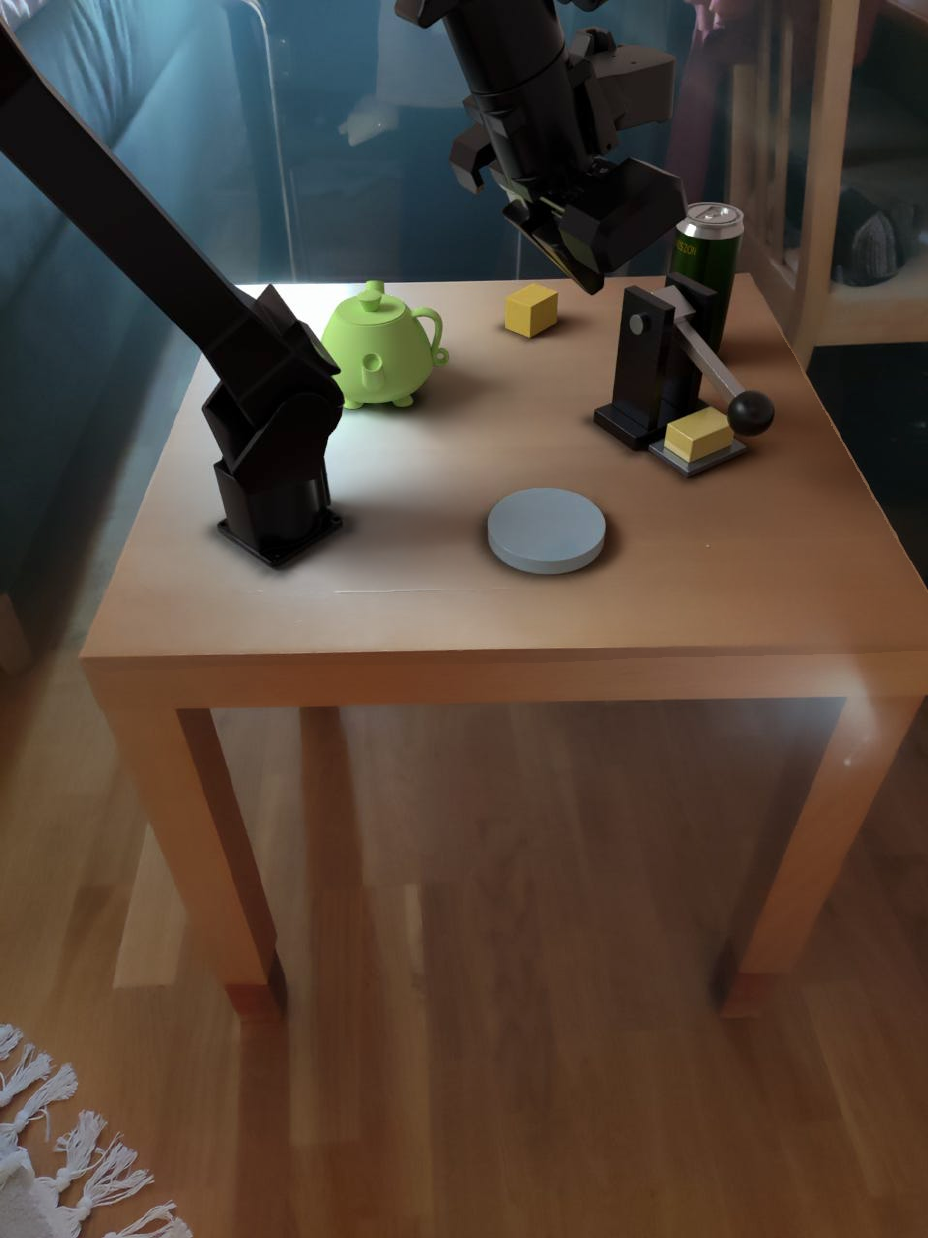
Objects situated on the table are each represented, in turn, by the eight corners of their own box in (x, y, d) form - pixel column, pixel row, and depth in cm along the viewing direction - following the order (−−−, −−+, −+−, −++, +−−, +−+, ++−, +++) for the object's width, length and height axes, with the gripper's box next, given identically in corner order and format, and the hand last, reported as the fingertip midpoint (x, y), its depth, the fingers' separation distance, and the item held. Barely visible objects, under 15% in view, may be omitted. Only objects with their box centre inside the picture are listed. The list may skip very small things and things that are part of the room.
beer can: (695, 373, 76) (721, 231, 68) (645, 352, 79) (664, 213, 71) (731, 352, 79) (760, 212, 71) (681, 332, 82) (703, 196, 73)
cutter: (710, 419, 71) (736, 288, 64) (633, 451, 68) (651, 317, 61) (667, 392, 74) (688, 264, 67) (592, 422, 71) (605, 291, 64)
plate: (555, 591, 57) (556, 577, 56) (463, 539, 61) (463, 526, 60) (627, 532, 61) (629, 518, 60) (537, 487, 65) (537, 473, 64)
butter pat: (529, 338, 82) (530, 306, 80) (504, 328, 83) (505, 297, 81) (556, 322, 84) (558, 291, 82) (531, 313, 85) (533, 282, 83)
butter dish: (745, 451, 68) (752, 423, 66) (687, 477, 66) (692, 449, 64) (705, 426, 71) (710, 398, 69) (647, 450, 68) (652, 421, 67)
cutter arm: (769, 437, 63) (792, 408, 61) (737, 452, 62) (758, 422, 59) (664, 311, 67) (681, 278, 65) (632, 322, 66) (647, 289, 63)
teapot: (472, 386, 76) (470, 289, 70) (374, 443, 70) (364, 343, 64) (381, 345, 81) (373, 252, 75) (283, 394, 75) (266, 298, 69)
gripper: (744, -1, 43) (783, 267, 55) (546, -46, 55) (613, 180, 67) (558, 138, 43) (637, 375, 55) (402, 62, 55) (494, 269, 67)
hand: (595, 289), depth 61 cm, fingers closed
